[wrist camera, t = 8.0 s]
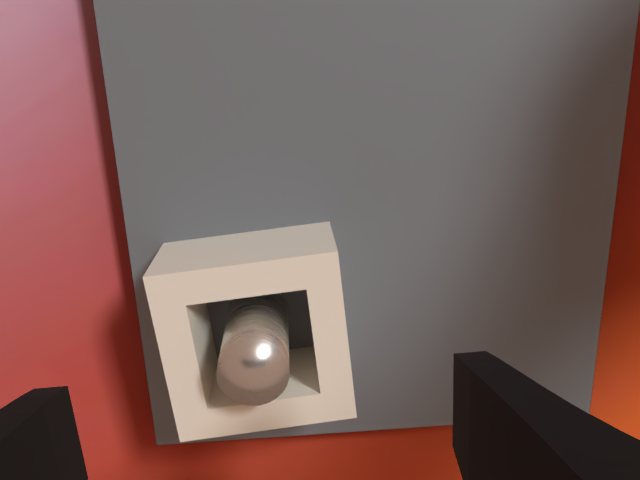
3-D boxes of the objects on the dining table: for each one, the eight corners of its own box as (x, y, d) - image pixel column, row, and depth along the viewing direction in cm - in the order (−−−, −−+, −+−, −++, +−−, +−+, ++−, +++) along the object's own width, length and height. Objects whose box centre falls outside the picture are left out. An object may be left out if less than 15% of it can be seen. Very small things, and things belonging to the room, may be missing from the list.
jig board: (660, -339, 16) (685, -363, 15) (576, 400, 23) (588, 415, 22) (56, -336, 15) (41, -361, 14) (161, 428, 22) (156, 445, 21)
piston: (286, 282, 20) (287, 339, 16) (289, 337, 20) (291, 403, 17) (226, 286, 20) (213, 343, 16) (231, 340, 20) (219, 408, 16)
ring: (329, 221, 19) (338, 251, 16) (346, 367, 21) (357, 417, 18) (163, 243, 19) (142, 277, 16) (194, 388, 21) (179, 442, 18)
